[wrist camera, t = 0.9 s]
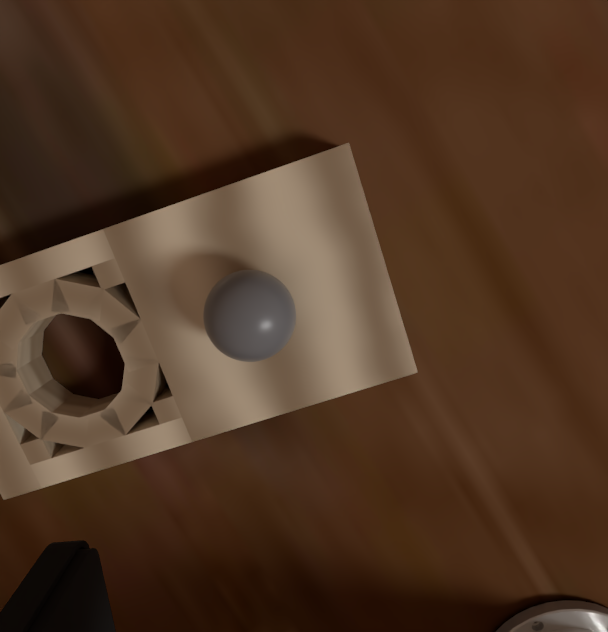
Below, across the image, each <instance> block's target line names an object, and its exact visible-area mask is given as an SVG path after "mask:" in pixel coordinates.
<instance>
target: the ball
mask: <svg viewBox="0 0 608 632" xmlns="http://www.w3.org/2000/svg"><path fill="white" fill-rule="evenodd" d="M203 319H204V326H205V330H206V333H207V335H208V337H209V339H210V340H211V342H212V343H213V345H214V346H215V347H216V348H217V349H218V350H219V351H220V352H222V353H223V354H225V355H226V356H228V357H230V358H232V359H235V360H238V361H244V362H256V361H261V360H265V359H267V358H270V357H272V356H273V355H275V354H276V353H278V352H279V351H280V350H281V349H282V348H283V347H284V346H285V345H286V344H287V343H288V341H289V340H290V338H291V336H292V334H293V331H294V328H295V324H296V309H295V304H294V301H293V298H292V296H291V294H290V292H289V290H288V289H287V288H286V286H285V285H284V284H283V283H282V282H281V281H280V280H278V279H277V278H276V277H274V276H272V275H270V274H268V273H266V272H263V271H259V270H241V271H237V272H234V273H231V274H229V275H227V276H225V277H224V278H222V279H221V280H220V281H219V282H217V284H216V285H215V286H214V287H213V288H212V290H211V291H210V293H209V295H208V297H207V299H206V302H205V305H204V313H203Z"/></svg>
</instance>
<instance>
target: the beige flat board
mask: <svg viewBox="0 0 608 632" xmlns="http://www.w3.org/2000/svg"><path fill="white" fill-rule="evenodd" d="M90 267H92V269H93V271H94V273H95V275H92V274H87V273H82V272H79V271H81V270H84V269H87V268H90ZM241 270H259V271H263V272H266V273H268V274H270V275H272V276H274V277H276V278H277V279H278V280H280V281H281V282H282V283H283V284H284V285H285V286H286V288H287V289H288V290H289V292H290V294H291V296H292V298H293V301H294V304H295V309H296V324H295V328H294V331H293V334H292V336H291V338H290V340H289V341H288V343H287V344H286V345H285V346H284V347H283V348H282V349H281V350H280V351H279V352H278V353H276V354H275V355H273V356H272V357H270V358H267V359H265V360H261V361H256V362H244V361H238V360H235V359H232V358H230V357H228V356H226V355H225V354H223V353H222V352H220V351H219V350H218V349H217V348H216V347H215V346H214V345H213V343H212V342H211V340H210V339H209V337H208V335H207V333H206V330H205V326H204V319H203V313H204V305H205V302H206V299H207V297H208V295H209V293H210V291H211V290H212V288H213V287H214V286H215V285H216V284H217V282H219V281H220V280H221V279H222V278H224V277H225V276H227V275H229V274H231V273H234V272H237V271H241ZM125 283H126V284H125ZM9 295H11V296H10V297H9V298H8V299H7V297H6V296H9ZM60 313H63V314H68V315H73V316H78V317H83V318H88V319H91V320H92V321H93V322H95V323H96V324H97V325H98V326H100V327H101V328H102V329H103V330H105V331H106V332H107V333H108V334H110V335H111V336H112V337H113V338H114V340H115V342H116V344H117V347H118V349H119V351H120V354H121V356H122V358H123V360H124V363H125V367H124V375H123V383H122V390H121V391H120V392H119V393H117V394H113V395H110V396H107V397H104V398H101V399H96V398H90V397H85V396H80V395H75V394H73V393H71V392H70V391H69V390H67V389H66V388H65V387H64V386H62V385H61V384H60V383H58V382H57V381H56V380H54V379H53V378H52V376H51V373H50V371H49V369H48V367H47V365H46V363H45V361H44V359H43V357H42V346H43V335H44V330H45V328H46V327H47V326H48V324H49V323H50V322H51V321H52V319H53V318H54V317H55V316H56V315H57V314H60ZM414 373H417V368H416V365H415V362H414V358H413V355H412V352H411V348H410V345H409V342H408V338H407V335H406V332H405V328H404V325H403V322H402V318H401V315H400V312H399V308H398V305H397V302H396V298H395V295H394V292H393V288H392V285H391V282H390V278H389V275H388V272H387V268H386V265H385V262H384V258H383V255H382V252H381V248H380V245H379V242H378V238H377V235H376V232H375V228H374V225H373V222H372V218H371V215H370V212H369V208H368V205H367V202H366V198H365V195H364V192H363V188H362V185H361V182H360V178H359V175H358V172H357V168H356V165H355V162H354V158H353V155H352V151H351V148H350V145H349V143H347V144H344V145H341V146H338V147H335V148H332V149H330V150H327V151H324V152H321V153H318V154H315V155H313V156H310V157H307V158H304V159H301V160H298V161H295V162H293V163H290V164H287V165H284V166H281V167H278V168H276V169H273V170H270V171H267V172H264V173H261V174H258V175H256V176H253V177H250V178H247V179H244V180H241V181H239V182H236V183H233V184H230V185H227V186H224V187H221V188H219V189H216V190H213V191H210V192H207V193H204V194H202V195H199V196H196V197H193V198H190V199H187V200H184V201H182V202H179V203H176V204H173V205H170V206H167V207H165V208H162V209H159V210H156V211H153V212H150V213H147V214H145V215H142V216H139V217H136V218H133V219H130V220H128V221H125V222H122V223H119V224H116V225H113V226H110V227H108V228H105V229H102V230H99V231H96V232H93V233H90V234H88V235H85V236H82V237H79V238H76V239H73V240H71V241H68V242H65V243H62V244H59V245H56V246H53V247H51V248H48V249H45V250H42V251H39V252H36V253H34V254H31V255H28V256H25V257H22V258H19V259H16V260H14V261H11V262H8V263H5V264H2V265H0V494H1V496H2V497H3V499H4V500H5V499H8V498H12V497H15V496H18V495H21V494H25V493H28V492H31V491H34V490H38V489H41V488H44V487H47V486H51V485H54V484H57V483H60V482H64V481H67V480H70V479H73V478H77V477H80V476H83V475H86V474H90V473H93V472H96V471H99V470H103V469H106V468H109V467H112V466H116V465H119V464H122V463H125V462H129V461H132V460H135V459H138V458H141V457H145V456H148V455H151V454H154V453H158V452H161V451H164V450H167V449H171V448H174V447H177V446H180V445H184V444H187V443H190V442H193V441H197V440H200V439H203V438H206V437H210V436H213V435H216V434H219V433H223V432H226V431H229V430H232V429H236V428H239V427H242V426H245V425H249V424H252V423H255V422H258V421H262V420H265V419H268V418H271V417H275V416H278V415H281V414H284V413H288V412H291V411H294V410H297V409H301V408H304V407H307V406H310V405H314V404H317V403H320V402H323V401H326V400H330V399H333V398H336V397H339V396H343V395H346V394H349V393H352V392H356V391H359V390H362V389H365V388H369V387H372V386H375V385H378V384H382V383H385V382H388V381H391V380H395V379H398V378H401V377H404V376H408V375H411V374H414ZM166 383H168V385H166ZM151 405H152V408H153V410H154V411H153V412H150V413H146V414H144V413H145V412H146V411H147V410H148V409H149V408H150V406H151Z"/></svg>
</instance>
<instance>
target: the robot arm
mask: <svg viewBox="0 0 608 632" xmlns="http://www.w3.org/2000/svg"><path fill="white" fill-rule="evenodd" d="M0 632H116V631H115V626H114V622H113V617H112V613H111V608H110V604H109V599H108V594H107V590H106V585H105V581H104V576H103V572H102V567H101V563H100V558H99V554H98V551H97V550H96V549H94V548H91V549H90V548H89V545H88V544H87V542H86V541H83V540H82V541H68V542H55V543H51V544H49V545H48V546H47V547H46V548H45V550H44V551H43V553H42V554H41V556H40V557H39V558H38V560H37V561H36V563H35V564H34V565H33V567H32V568H31V570H30V571H29V573H28V574H27V575H26V577H25V578H24V580H23V581H22V582H21V584H20V585H19V587H18V588H17V590H16V591H15V592H14V594H13V595H12V597H11V598H10V599H9V601H8V602H7V604H6V605H5V607H4V608H3V609H2V611H1V612H0ZM496 632H608V608H605V607H602V606H600V605H597V604H594V603H589V602H584V601H571V600H563V601H555V602H547V603H544V604H540V605H537V606H533V607H531V608H529V609H527V610H524V611H522V612H520V613H518V614H516V615H515V616H514V617H512V618H511V619H509V620H508V621H506V622H505V623H504V624H503V625H502V626H501V627H500V628H499V629H498V630H497V631H496Z"/></svg>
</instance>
